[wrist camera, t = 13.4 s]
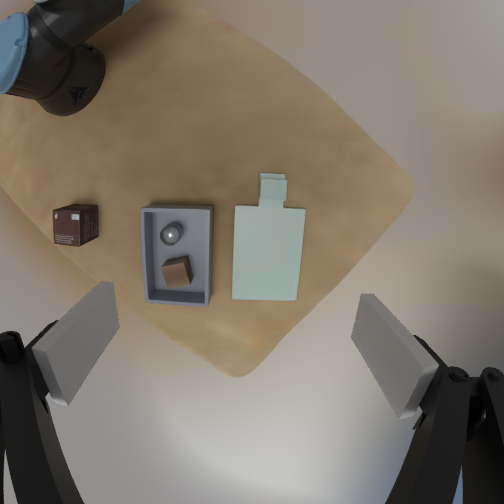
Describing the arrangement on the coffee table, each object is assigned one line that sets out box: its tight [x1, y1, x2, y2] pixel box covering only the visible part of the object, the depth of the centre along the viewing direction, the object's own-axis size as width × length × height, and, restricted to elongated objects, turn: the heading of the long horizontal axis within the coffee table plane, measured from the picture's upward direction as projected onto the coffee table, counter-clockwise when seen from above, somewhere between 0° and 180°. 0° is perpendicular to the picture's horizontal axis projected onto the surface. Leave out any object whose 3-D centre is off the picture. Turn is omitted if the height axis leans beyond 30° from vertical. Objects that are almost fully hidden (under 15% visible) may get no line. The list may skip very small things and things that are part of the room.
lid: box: [232, 173, 306, 301], centre depth 47 cm, size 22×12×4 cm, turn 177°
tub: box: [141, 204, 213, 307], centre depth 47 cm, size 16×11×5 cm
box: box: [53, 204, 98, 247], centre depth 43 cm, size 6×6×7 cm
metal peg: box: [160, 222, 183, 246], centre depth 46 cm, size 3×3×4 cm
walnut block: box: [161, 255, 194, 289], centre depth 47 cm, size 4×4×4 cm
